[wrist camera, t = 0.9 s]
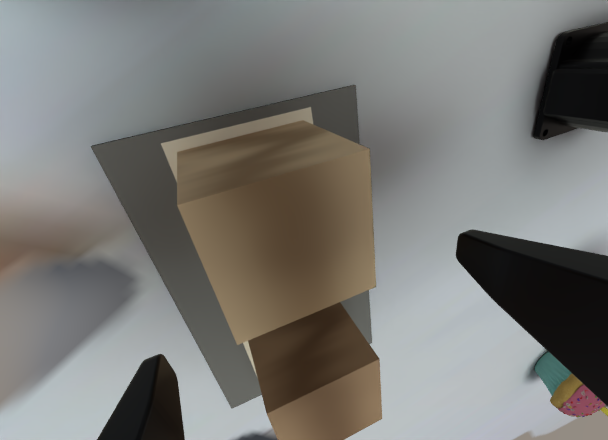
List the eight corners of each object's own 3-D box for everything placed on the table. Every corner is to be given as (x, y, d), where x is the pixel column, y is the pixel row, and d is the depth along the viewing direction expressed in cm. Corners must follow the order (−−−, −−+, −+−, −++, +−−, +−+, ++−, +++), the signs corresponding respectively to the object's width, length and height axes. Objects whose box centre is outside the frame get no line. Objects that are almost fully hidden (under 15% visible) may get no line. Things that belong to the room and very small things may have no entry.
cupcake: (568, 354, 45) (678, 435, 35) (524, 388, 45) (623, 480, 35) (569, 327, 40) (697, 412, 31) (521, 365, 40) (634, 463, 30)
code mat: (353, 84, 15) (355, 85, 15) (370, 340, 25) (372, 343, 25) (92, 145, 12) (90, 147, 12) (231, 406, 22) (231, 409, 22)
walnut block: (329, 286, 20) (379, 359, 15) (337, 342, 23) (382, 418, 18) (242, 320, 19) (266, 413, 14) (264, 375, 22) (290, 468, 17)
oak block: (303, 119, 14) (369, 148, 9) (319, 223, 17) (375, 286, 12) (177, 151, 13) (177, 205, 8) (218, 258, 16) (237, 345, 11)
